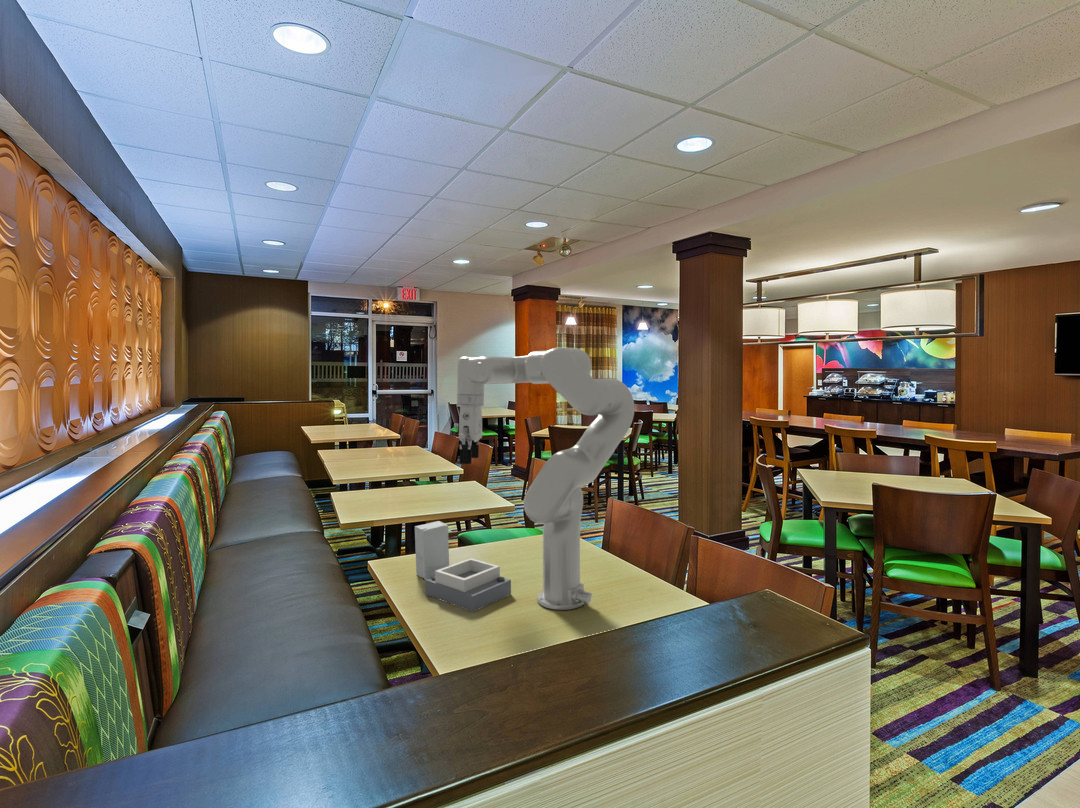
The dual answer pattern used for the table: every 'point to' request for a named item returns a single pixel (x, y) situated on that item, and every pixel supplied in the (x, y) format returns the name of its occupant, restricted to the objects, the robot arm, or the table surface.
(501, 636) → the table surface
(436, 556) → the skincare box
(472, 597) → the grey box holder
